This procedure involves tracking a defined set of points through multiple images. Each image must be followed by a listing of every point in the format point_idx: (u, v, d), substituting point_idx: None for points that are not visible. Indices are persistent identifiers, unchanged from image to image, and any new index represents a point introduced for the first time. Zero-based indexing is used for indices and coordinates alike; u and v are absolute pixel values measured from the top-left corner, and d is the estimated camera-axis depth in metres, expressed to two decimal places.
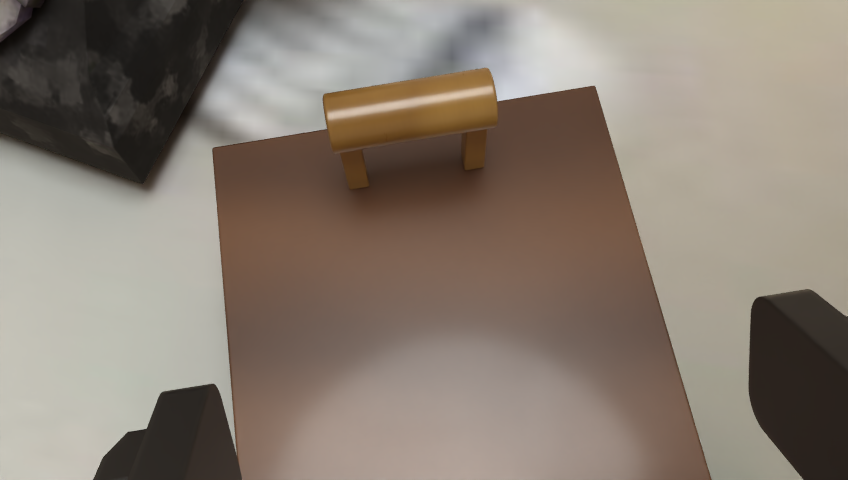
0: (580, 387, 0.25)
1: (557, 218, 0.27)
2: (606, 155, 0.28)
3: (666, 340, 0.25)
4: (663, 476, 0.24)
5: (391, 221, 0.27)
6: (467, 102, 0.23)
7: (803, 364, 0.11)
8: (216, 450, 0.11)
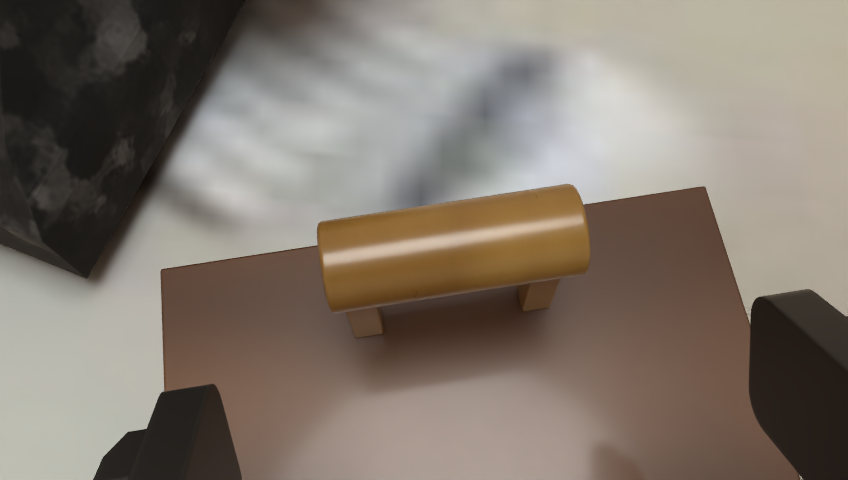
0: None
1: (659, 389, 0.18)
2: (726, 292, 0.19)
3: None
4: None
5: (416, 388, 0.19)
6: (544, 243, 0.15)
7: (804, 364, 0.11)
8: (216, 450, 0.11)
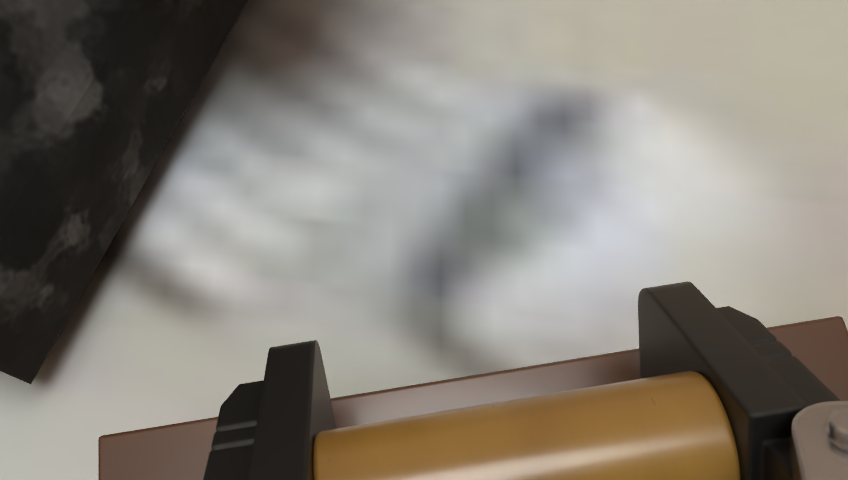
0: None
1: None
2: None
3: None
4: None
5: None
6: None
7: (674, 351, 0.11)
8: (322, 401, 0.12)
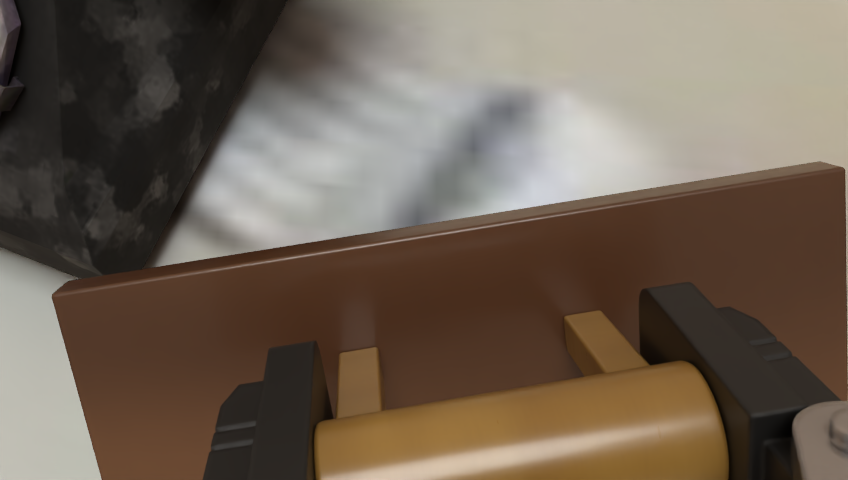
0: None
1: None
2: (831, 322, 0.15)
3: None
4: None
5: None
6: None
7: (674, 351, 0.11)
8: (322, 401, 0.12)
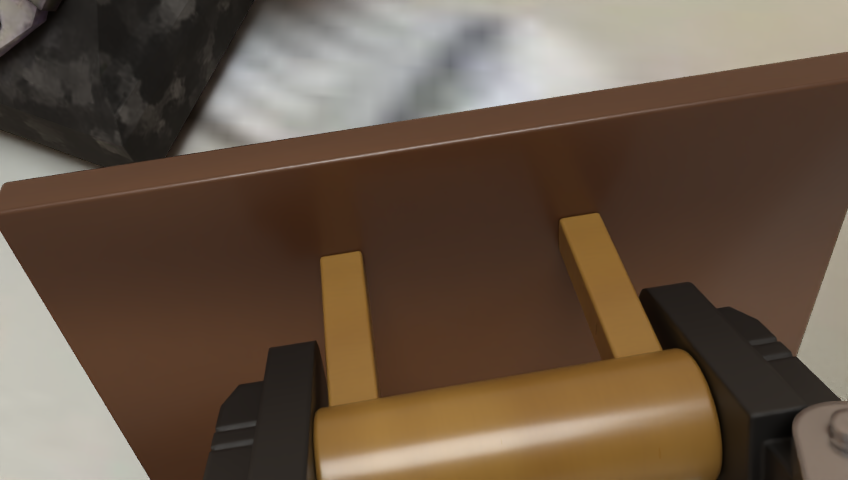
0: None
1: None
2: (830, 216, 0.14)
3: None
4: None
5: (407, 327, 0.15)
6: None
7: None
8: (322, 401, 0.12)
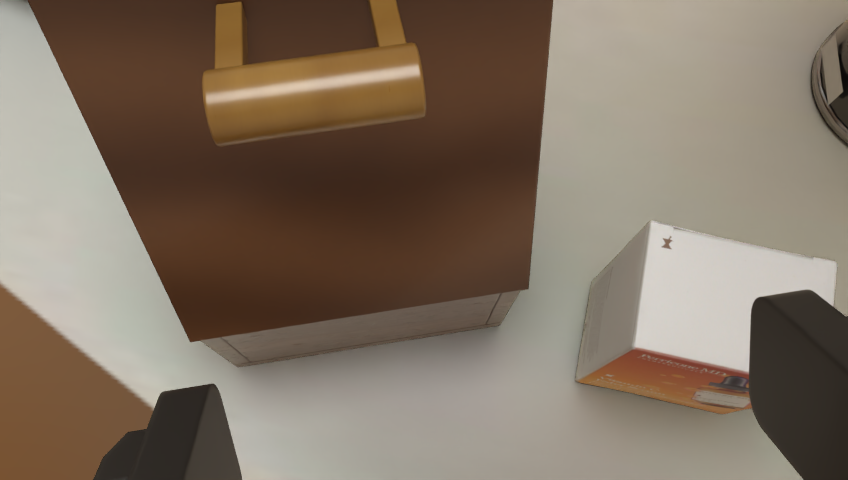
0: (450, 197, 0.28)
1: (466, 63, 0.24)
2: None
3: (535, 165, 0.28)
4: (497, 245, 0.31)
5: None
6: (390, 120, 0.19)
7: (804, 364, 0.11)
8: (216, 450, 0.11)
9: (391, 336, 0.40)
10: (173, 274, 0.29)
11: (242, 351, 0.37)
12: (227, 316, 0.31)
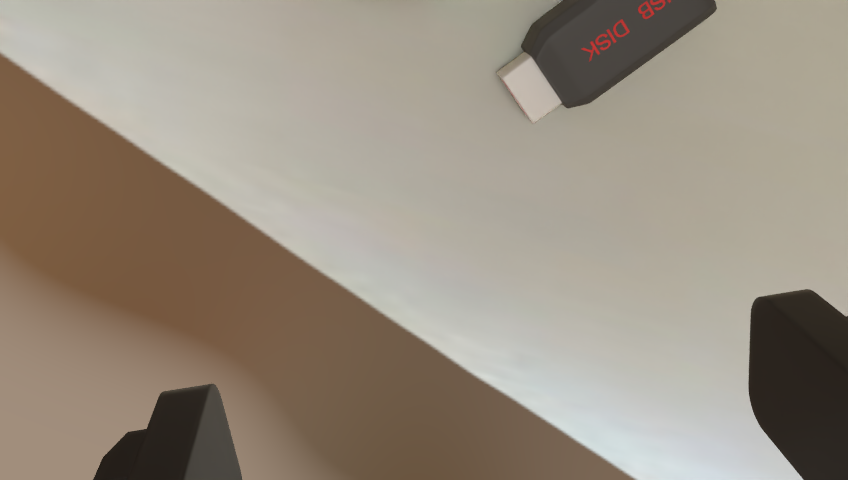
0: None
1: None
2: None
3: None
4: None
5: None
6: None
7: (804, 364, 0.11)
8: (216, 450, 0.11)
9: None
10: None
11: None
12: None
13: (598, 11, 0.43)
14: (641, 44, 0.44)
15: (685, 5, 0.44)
